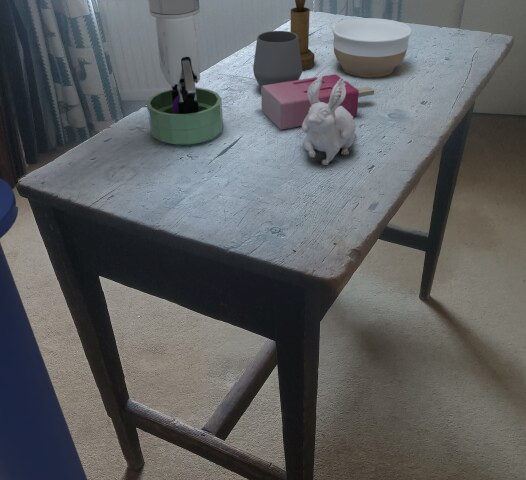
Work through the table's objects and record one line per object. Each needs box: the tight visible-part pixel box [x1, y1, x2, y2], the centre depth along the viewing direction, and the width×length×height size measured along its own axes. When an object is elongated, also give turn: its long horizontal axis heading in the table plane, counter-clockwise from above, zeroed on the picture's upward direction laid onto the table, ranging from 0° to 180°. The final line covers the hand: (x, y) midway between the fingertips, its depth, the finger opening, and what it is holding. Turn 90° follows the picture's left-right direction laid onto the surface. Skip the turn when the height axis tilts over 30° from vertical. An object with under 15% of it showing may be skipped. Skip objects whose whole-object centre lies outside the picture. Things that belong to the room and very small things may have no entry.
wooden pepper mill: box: [289, 0, 315, 71], centre depth 121 cm, size 7×6×18 cm
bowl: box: [331, 17, 413, 78], centre depth 122 cm, size 16×16×8 cm
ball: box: [173, 96, 199, 114], centre depth 98 cm, size 4×4×4 cm
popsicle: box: [260, 73, 375, 131], centre depth 105 cm, size 9×5×20 cm
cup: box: [252, 30, 303, 89], centre depth 112 cm, size 10×9×10 cm
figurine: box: [301, 74, 357, 166], centre depth 91 cm, size 8×15×13 cm, turn 157°
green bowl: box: [146, 86, 224, 146], centre depth 99 cm, size 12×12×6 cm
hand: (186, 117), depth 100 cm, fingers closed on ball, 4 cm apart
